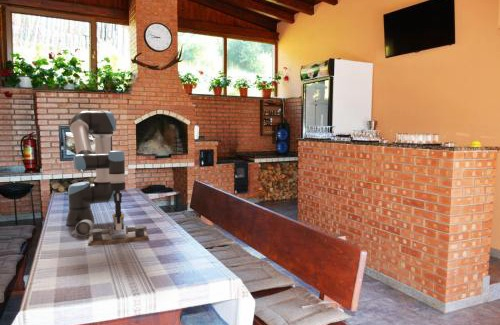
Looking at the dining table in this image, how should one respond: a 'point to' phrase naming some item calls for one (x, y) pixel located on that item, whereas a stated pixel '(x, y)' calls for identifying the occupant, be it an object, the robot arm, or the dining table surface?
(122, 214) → the knob
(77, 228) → the ceramic mug
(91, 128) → the robot arm
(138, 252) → the dining table surface
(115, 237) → the shaft bench
